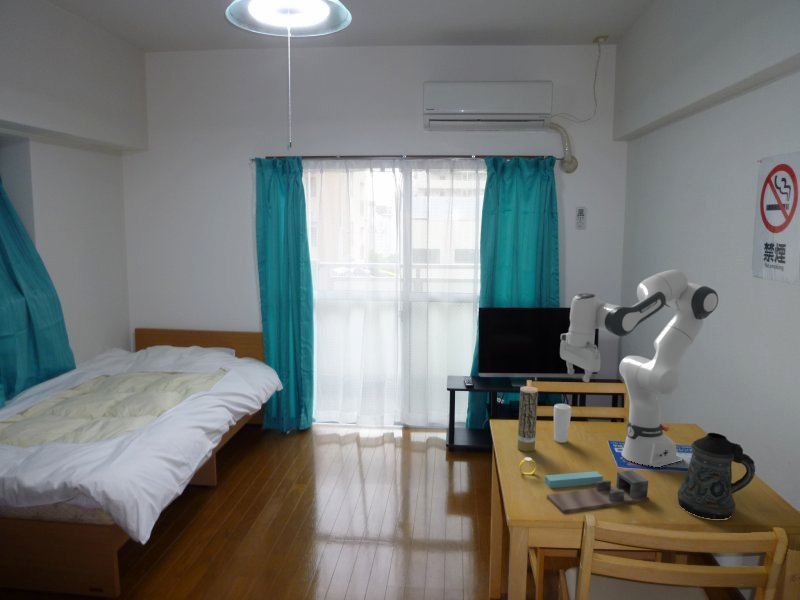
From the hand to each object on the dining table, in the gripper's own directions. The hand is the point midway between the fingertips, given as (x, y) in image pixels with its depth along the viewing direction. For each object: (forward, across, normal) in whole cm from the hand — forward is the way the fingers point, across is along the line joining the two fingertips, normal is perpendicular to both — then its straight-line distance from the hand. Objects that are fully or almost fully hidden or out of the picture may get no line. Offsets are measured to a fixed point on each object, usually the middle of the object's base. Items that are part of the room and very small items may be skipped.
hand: (578, 377), depth 200 cm
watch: (+36, +3, +16) cm, 40 cm away
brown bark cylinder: (+36, +23, +6) cm, 43 cm away
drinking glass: (+36, +27, -12) cm, 46 cm away
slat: (+36, -7, +3) cm, 37 cm away
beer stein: (+36, -33, -30) cm, 57 cm away
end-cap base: (+36, -19, +2) cm, 41 cm away
